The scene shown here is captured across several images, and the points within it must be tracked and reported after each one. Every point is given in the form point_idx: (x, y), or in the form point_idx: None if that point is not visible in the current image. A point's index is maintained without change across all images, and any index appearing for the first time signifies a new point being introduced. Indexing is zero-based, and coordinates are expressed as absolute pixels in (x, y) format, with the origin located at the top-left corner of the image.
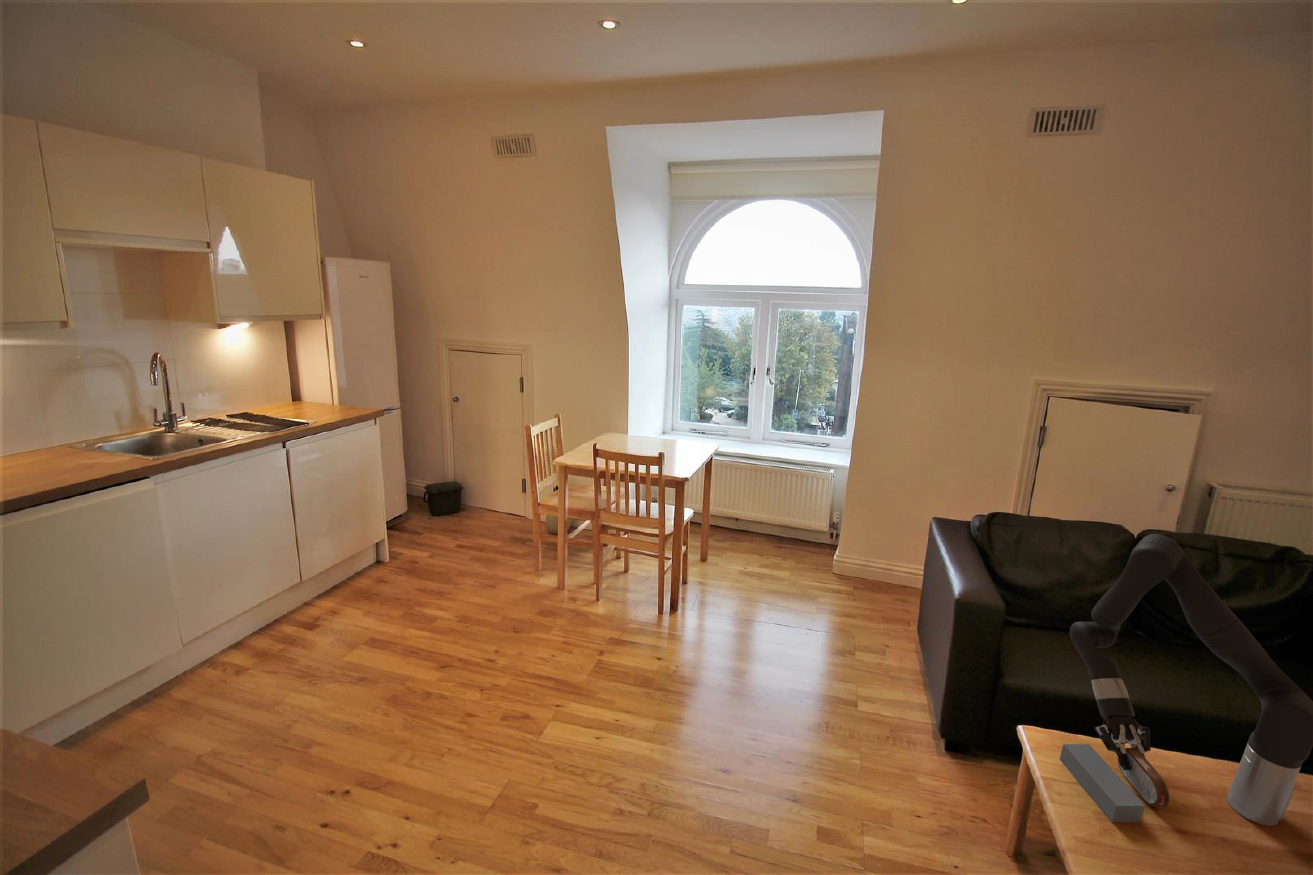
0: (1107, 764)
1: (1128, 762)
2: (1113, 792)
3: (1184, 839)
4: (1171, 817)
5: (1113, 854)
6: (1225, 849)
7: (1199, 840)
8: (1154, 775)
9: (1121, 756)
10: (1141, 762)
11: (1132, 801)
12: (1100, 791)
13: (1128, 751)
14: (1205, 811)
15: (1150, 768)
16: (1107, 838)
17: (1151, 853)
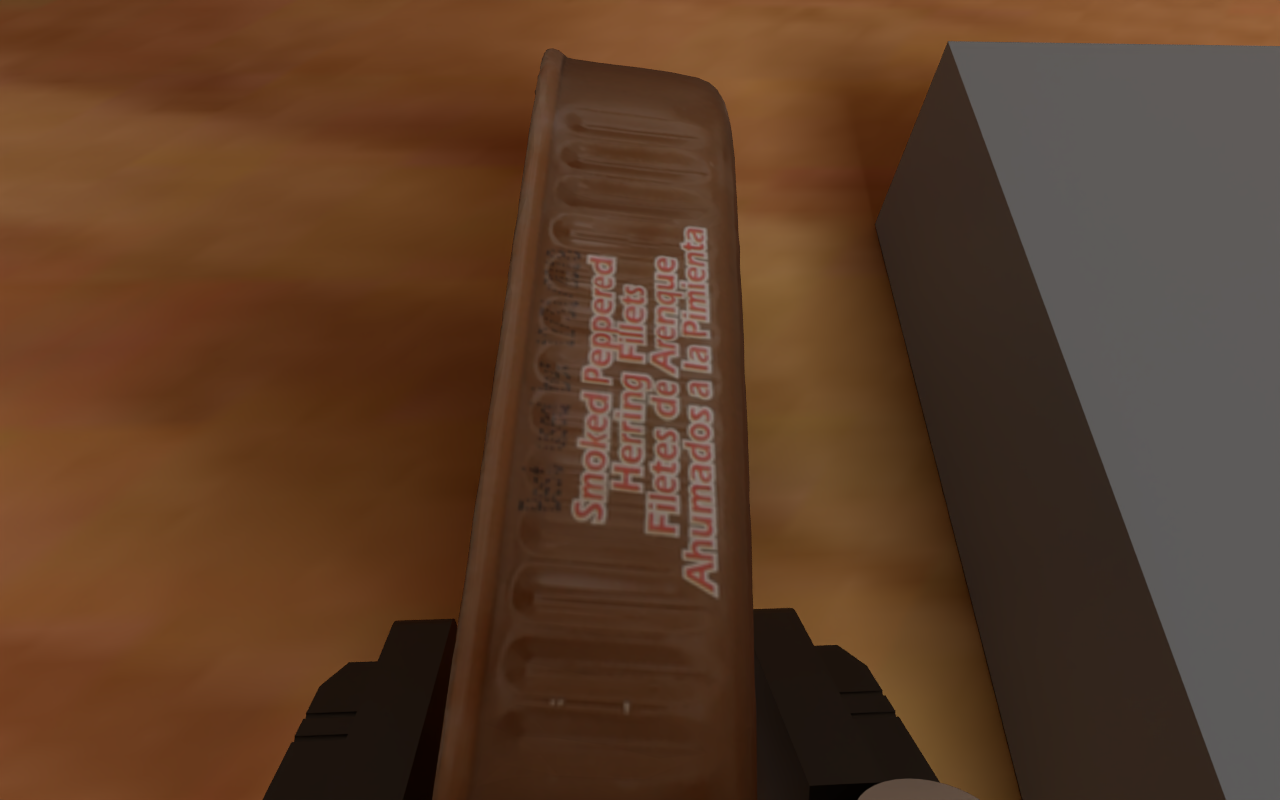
0: (1191, 702)
1: (791, 665)
2: (1275, 182)
3: None
4: (497, 269)
5: (1239, 19)
6: (293, 31)
7: (444, 88)
8: (640, 138)
9: (930, 777)
10: (678, 406)
11: (1075, 87)
12: None
13: None
14: (4, 335)
15: (595, 257)
16: None
17: (946, 19)
